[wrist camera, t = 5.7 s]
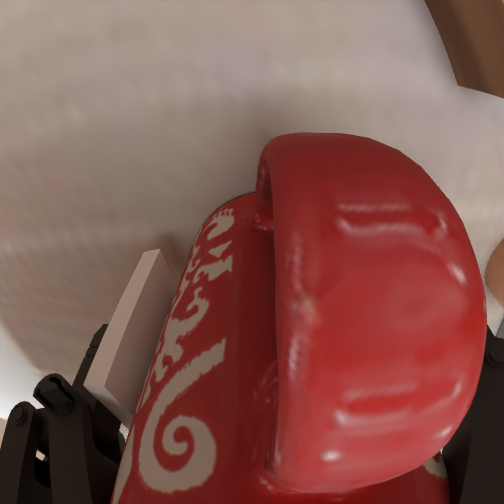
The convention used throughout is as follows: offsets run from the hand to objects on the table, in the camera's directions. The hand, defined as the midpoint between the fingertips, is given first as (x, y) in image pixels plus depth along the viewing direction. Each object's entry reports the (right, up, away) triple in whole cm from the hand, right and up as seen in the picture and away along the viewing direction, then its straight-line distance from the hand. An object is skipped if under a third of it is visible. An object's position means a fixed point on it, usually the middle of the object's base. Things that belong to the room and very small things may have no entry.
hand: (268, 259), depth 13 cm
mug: (0, +1, +2) cm, 3 cm away
